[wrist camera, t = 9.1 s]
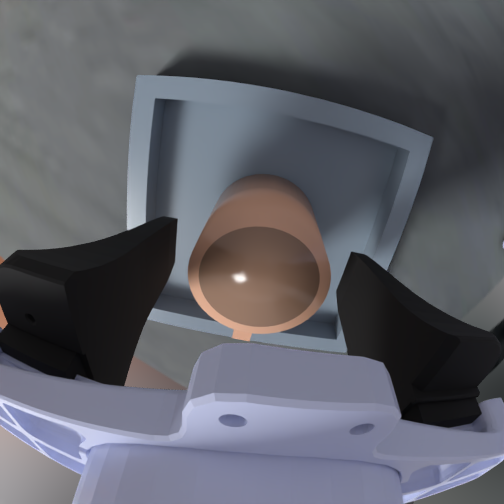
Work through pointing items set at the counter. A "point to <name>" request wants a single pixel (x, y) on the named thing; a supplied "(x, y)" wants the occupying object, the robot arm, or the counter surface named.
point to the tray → (274, 163)
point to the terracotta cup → (260, 258)
